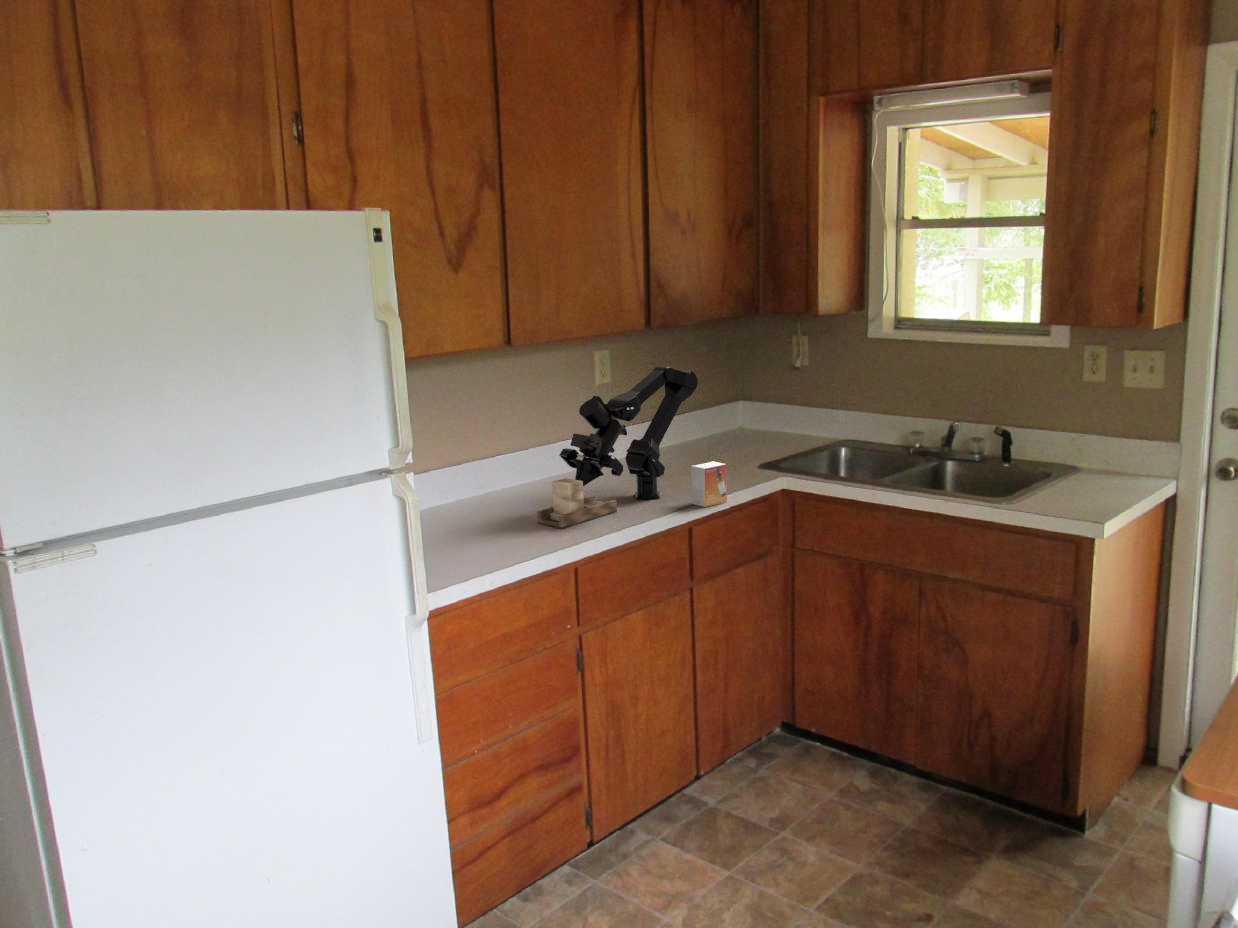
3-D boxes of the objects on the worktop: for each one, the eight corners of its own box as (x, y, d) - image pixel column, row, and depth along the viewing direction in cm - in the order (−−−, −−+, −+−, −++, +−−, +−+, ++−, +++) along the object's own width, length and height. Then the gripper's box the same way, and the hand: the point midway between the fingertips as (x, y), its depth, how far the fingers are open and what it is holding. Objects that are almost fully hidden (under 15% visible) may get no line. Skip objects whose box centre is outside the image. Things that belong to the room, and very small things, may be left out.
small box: (704, 508, 270) (703, 468, 268) (691, 504, 275) (690, 465, 272) (727, 502, 275) (727, 463, 273) (713, 498, 279) (712, 460, 277)
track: (592, 507, 276) (592, 495, 275) (616, 512, 270) (616, 500, 269) (537, 523, 262) (537, 511, 262) (562, 529, 256) (561, 516, 255)
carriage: (568, 508, 267) (566, 477, 265) (584, 511, 263) (582, 481, 261) (553, 512, 264) (551, 481, 262) (569, 515, 260) (568, 484, 258)
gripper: (562, 417, 271) (533, 466, 265) (613, 424, 258) (583, 476, 253) (585, 442, 278) (557, 490, 272) (636, 450, 265) (608, 500, 260)
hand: (575, 488), depth 264 cm, fingers closed, pressing on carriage
